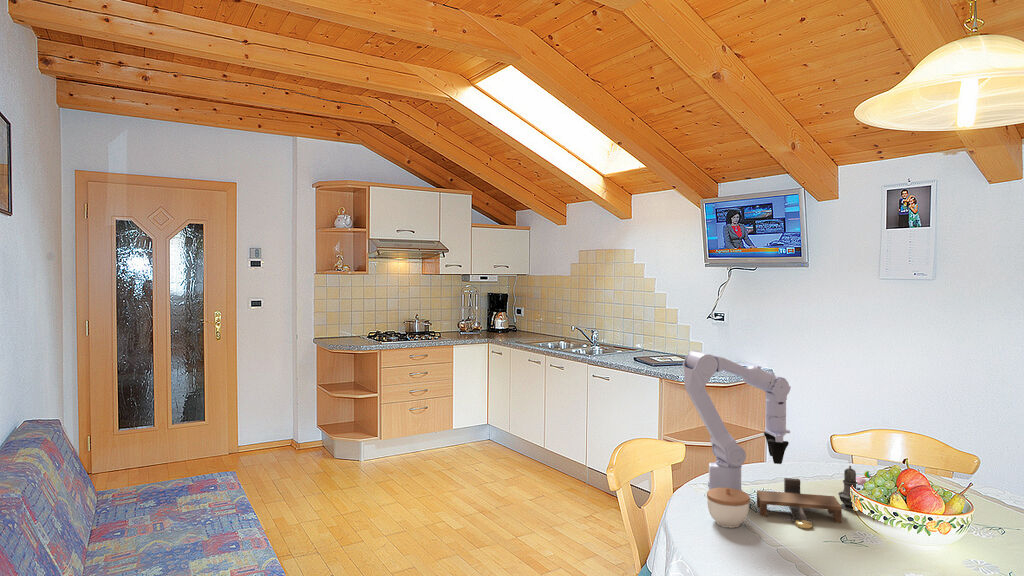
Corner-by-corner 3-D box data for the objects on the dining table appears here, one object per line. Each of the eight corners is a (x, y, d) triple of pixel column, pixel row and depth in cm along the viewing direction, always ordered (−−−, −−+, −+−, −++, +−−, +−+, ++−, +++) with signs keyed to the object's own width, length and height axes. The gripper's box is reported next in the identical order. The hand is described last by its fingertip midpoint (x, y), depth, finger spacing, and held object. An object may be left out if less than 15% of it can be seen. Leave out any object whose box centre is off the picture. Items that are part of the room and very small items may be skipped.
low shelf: (760, 516, 168) (760, 500, 168) (756, 505, 176) (756, 490, 176) (841, 523, 163) (841, 506, 163) (833, 511, 171) (834, 496, 171)
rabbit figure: (869, 487, 194) (835, 486, 188) (872, 468, 194) (838, 467, 188) (888, 494, 188) (854, 493, 182) (891, 474, 188) (856, 473, 182)
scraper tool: (791, 522, 164) (791, 496, 164) (782, 501, 179) (782, 477, 179) (812, 524, 163) (812, 497, 163) (801, 503, 177) (801, 479, 177)
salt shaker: (866, 511, 171) (866, 468, 170) (844, 512, 171) (845, 468, 170) (854, 503, 177) (855, 462, 176) (834, 504, 177) (834, 462, 176)
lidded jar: (752, 533, 158) (753, 496, 157) (709, 529, 160) (709, 494, 160) (745, 516, 168) (746, 482, 168) (704, 513, 170) (704, 480, 170)
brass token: (797, 529, 160) (797, 525, 160) (793, 523, 164) (793, 519, 164) (814, 531, 159) (814, 526, 159) (810, 524, 163) (810, 520, 163)
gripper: (794, 421, 179) (794, 467, 180) (785, 410, 193) (785, 453, 194) (768, 420, 181) (768, 466, 181) (761, 409, 195) (761, 452, 195)
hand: (775, 459), depth 188 cm, fingers open, 7 cm apart
